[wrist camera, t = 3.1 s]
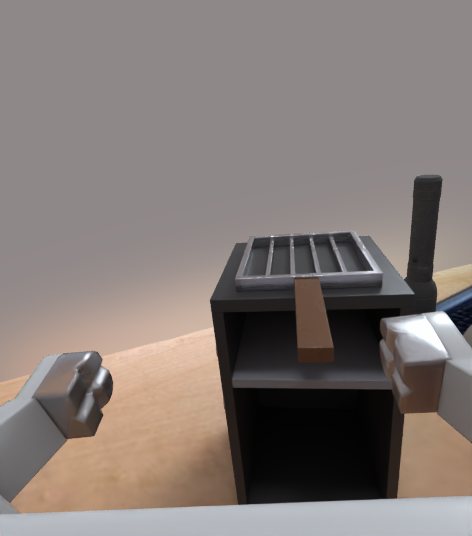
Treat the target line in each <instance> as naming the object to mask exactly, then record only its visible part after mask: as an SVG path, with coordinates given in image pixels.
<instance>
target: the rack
mask: <svg viewBox="0 0 472 536" xmlns="http://www.w3.org/2000/svg"><path fill="white" fill-rule="evenodd" d="M340 242H350V243H351V245H352V247H353V249H354V250H355V252H356V254H357V256H358V257H359V259H360V261H361V263H362V265H363V266H364V268H365V270H366V271H360V272H347V270H346V268H345V265H344V263H343V261H342V258H341V256H340V254H339V251H338V249H337V247H336V244H335V243H340ZM322 243H330V244H331V247H332V249H333V252H334V255H335V257H336V260H337V262H338V265H339V268H340V270H341V272H335V273H321V271H320V267H319V263H318V259H317V254H316V250H315V246H314V244H322ZM303 244H310V248H311V253H312V258H313V263H314V268H315V273H310V274H295V262H294V245H303ZM285 245H290V274H285V275H271V267H272V258H273V249H274V246H285ZM266 246H270V248H269V255H268V261H267V268H266V275H261V276H247V274H248V270H249V267H250V263H251V259H252V256H253V252H254V249H255V247H266ZM382 285H383V272H382V271H381V269H380V268H379V267H378V265H377V264H376V262H375V261H374V259H373V258H372V256H371V255H370V253H369V252H368V250H367V249H366V247H365V246H364V244H363V243H362V241H361V240H360V238H359V237H358V235H357V234H356V232H355V231H354V230H353V231H337V232H319V233H303V234H286V235H270V236H269V235H268V236H251V237H250V238H249V240H248V243H247V246H246V249H245V252H244V255H243V257H242V260H241V263H240V266H239V269H238V271H237V274H236V277H235V287H236V291H262V290H292V289H295V307H296V329H297V350H298V362H334V346H333V342H332V337H331V332H330V328H329V323H328V318H327V314H326V309H325V304H324V300H323V295H322V290H321V289H322V288H352V287H382Z"/></svg>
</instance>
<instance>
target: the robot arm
mask: <svg viewBox="0 0 472 536" xmlns="http://www.w3.org/2000/svg"><path fill="white" fill-rule="evenodd" d="M380 332H381V334H382V336H383V339H382V340H381V341H380V357H381V363H382V366H383V370H384V372H385V375H386V377H387V378H388V379H389V380H391V381H392V393H393V395H394V398H395V400H396V403H397V405H398V408H399V410H400V413H401V414H406V413H428V412H437V414H438V415H439V416H441V417H442V418H443V419H444V420H445V421H446V422H448V423H449V424H450V425H451V426H452V427H453V428H455V429H456V430H457V431H458V432H459V433H460V434H462V435H463V436H464V437H465V438H466V439H467V440H469V441H470V442H471V443H472V348H471V347H470V345H469V344H468V343H467V341H466V340H465V339H464V337H463V336H462V334H461V333H460V332H459V330H458V329H457V328H456V326H455V325H454V324H453V322H452V321H451V319H450V318H449V317H448V315H447V314H446V313H445V312H443V311H438V312H430V313H422V314H416V315H408V316H399V317H391V318H383V319H381V322H380ZM101 363H102V358H101V356H100V355H99V353H98V352H95V351H87V352H75V353H64V354H56V355H48V356H46V357H44V358H43V359H42V360H41V362H40V363H39V365H38V366H37V368H36V369H35V370H34V372H33V373H32V375H31V376H30V377H29V379H28V380H27V382H26V383H25V385H24V386H23V387H22V389H21V390H20V392H19V393H18V395H17V396H16V397H15V399H14V400H11V401H8V402H6V403H5V404H3V405H2V406H1V407H0V536H472V496H450V497H425V498H400V499H375V500H350V501H324V502H299V503H273V504H248V505H223V506H198V507H174V508H149V509H125V510H100V511H74V512H49V513H24V514H20V512H19V511H18V510H16V509H15V508H14V507H13V506H12V505H11V504H10V502H11V501H12V500H13V499H14V498H15V496H16V495H17V494H18V493H19V492H20V491H21V490H22V489H23V488H24V487H25V486H26V485H27V483H28V482H29V481H30V480H31V479H32V478H33V477H34V476H35V475H36V474H37V473H38V472H39V470H40V469H41V468H42V467H43V466H44V465H45V464H46V463H47V462H48V461H49V460H50V459H51V457H52V456H53V455H54V454H55V453H56V452H57V451H58V450H59V449H60V448H61V447H62V445H63V444H64V443H65V442H66V441H67V440H66V439H72V438H82V437H91V436H94V435H95V433H96V431H97V428H98V426H99V424H100V421H101V419H102V417H103V413H102V410H101V409H102V408H103V407H104V406H105V405H106V404H107V403H108V402H109V400H110V397H111V395H112V390H113V381H112V376H111V374H110V372H109V370H107V369H106V368H104V367H102V366H101Z"/></svg>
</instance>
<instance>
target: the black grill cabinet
mask: <svg viewBox="0 0 472 536" xmlns="http://www.w3.org/2000/svg"><path fill="white" fill-rule="evenodd" d="M359 238H360V240H361V241H362V243H363V244H364V246H365V247H366V249H367V250H368V252H369V253H370V255H371V256H372V258H373V259H374V261H375V262H376V264H377V265H378V267H379V268H380V269H381V271H382V272H383V285H382V287H352V288H322V289H321V290H322V295H323V300H324V304H325V309H326V314H327V318H328V323H329V328H330V332H331V337H332V342H333V346H334V362H298V350H297V329H296V307H295V289H292V290H262V291H236V287H235V277H236V274H237V271H238V269H239V266H240V263H241V260H242V257H243V255H244V252H245V249H246V246H247V243H236V245H235V247H234V249H233V251H232V253H231V256H230V258H229V260H228V262H227V265H226V267H225V269H224V271H223V273H222V275H221V278H220V280H219V282H218V284H217V286H216V288H215V291H214V293H213V295H212V297H211V299H210V304H211V311H212V318H213V325H214V333H215V340H216V353H217V357H218V361H219V369H220V376H221V383H222V390H223V403H224V409H225V412H226V419H227V426H228V434H229V441H230V448H231V455H232V462H233V470H234V477H235V484H236V491H237V498H238V505H248V504H273V503H299V502H324V501H350V500H375V499H397V492H398V481H399V469H400V458H401V447H402V436H403V424H404V414H401V413H400V410H399V408H398V405H397V403H396V400H395V398H394V395H393V393H392V381H391V380H389V379H388V378H387V377H386V375H385V372H384V370H383V366H382V363H381V357H380V341H381V340H382V339H383V336H382V334H381V332H380V322H381V319H383V318H391V317H399V316H408V315H413V312H414V301H415V293H414V292H413V291H412V290H411V288H410V287H409V286H408V285H407V283H406V282H405V281H404V279H403V278H402V277H401V276H400V274H399V273H398V272H397V271H396V269H395V268H394V267H393V265H392V264H391V263H390V262H389V260H388V259H387V258H386V256H385V255H384V254H383V253H382V251H381V250H380V249H379V248H378V246H377V245H376V244H375V243H374V241H373V240H372V239H371V238H370V236H359ZM335 244H336V247H337V249H338V251H339V254H340V256H341V258H342V261H343V263H344V265H345V268H346V270H347V272H360V271H366V270H365V268H364V266H363V265H362V263H361V261H360V259H359V257H358V256H357V254H356V252H355V250H354V249H353V247H352V245H351V243H350V242H340V243H335ZM314 246H315V250H316V254H317V259H318V263H319V267H320V271H321V273H335V272H341V270H340V268H339V265H338V262H337V260H336V257H335V255H334V252H333V249H332V247H331V244H330V243H322V244H314ZM269 248H270V246H266V247H255V249H254V252H253V256H252V259H251V263H250V267H249V270H248V274H247V276H261V275H266V268H267V261H268V255H269ZM294 262H295V274H310V273H315V268H314V263H313V258H312V253H311V248H310V244H303V245H294ZM285 274H290V245H285V246H274V249H273V258H272V267H271V275H285Z"/></svg>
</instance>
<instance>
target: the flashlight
mask: <svg viewBox="0 0 472 536" xmlns="http://www.w3.org/2000/svg"><path fill="white" fill-rule="evenodd" d="M441 188H442V178H441V176H439V175H421V176H417V177H416V179H415V180H414V191H413V211H412V225H411V237H410V250H409V262H408V269H407V277H406V278H405V279H404V281H405V282H406V283H407V285H408V286H409V287H410V288H411V290H412V291H413V292H414V293H415V301H414V312H413V315H416V314H422V313H430V312H435V310H436V300H437V288H436V284H435V282H434V281H433V279H432V275H433V259H434V250H435V240H436V230H437V221H438V211H439V201H440V197H441Z"/></svg>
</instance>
